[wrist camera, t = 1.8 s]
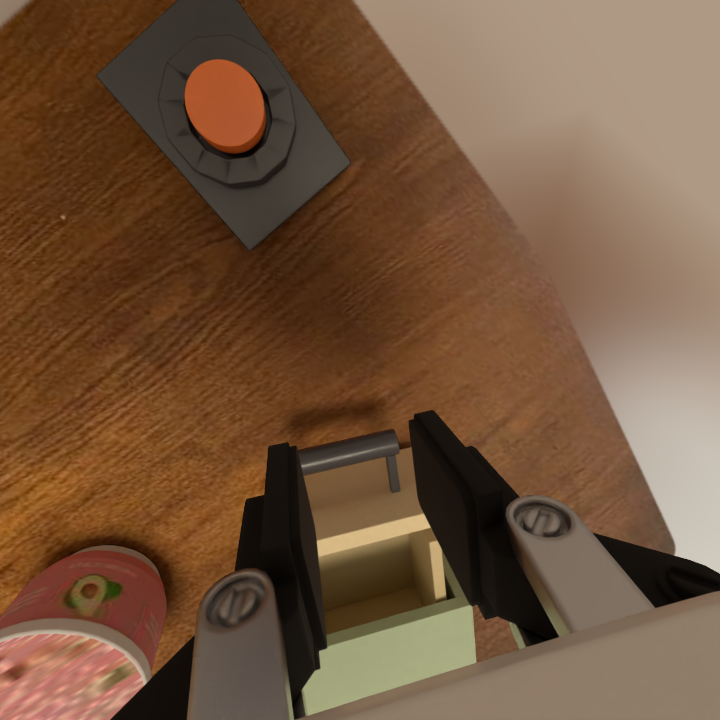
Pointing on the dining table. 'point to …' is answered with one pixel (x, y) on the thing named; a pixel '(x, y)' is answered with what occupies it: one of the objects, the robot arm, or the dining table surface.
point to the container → (81, 636)
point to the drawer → (370, 531)
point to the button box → (186, 145)
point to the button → (225, 106)
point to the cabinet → (394, 651)
